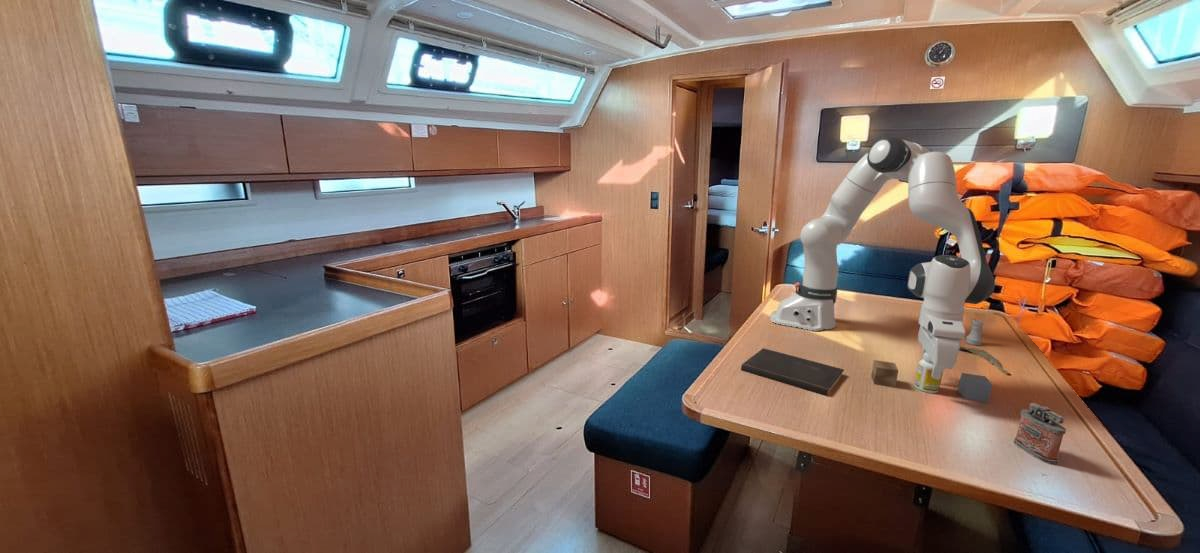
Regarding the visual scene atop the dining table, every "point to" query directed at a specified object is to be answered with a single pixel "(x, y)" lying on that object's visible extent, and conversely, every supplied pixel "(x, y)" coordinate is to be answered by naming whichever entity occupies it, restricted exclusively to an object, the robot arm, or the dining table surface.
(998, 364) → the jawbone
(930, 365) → the supplement bottle
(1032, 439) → the lighter
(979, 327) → the rook chess piece
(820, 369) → the hardcover book
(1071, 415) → the dining table surface
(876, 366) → the walnut block
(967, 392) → the slate-blue block
